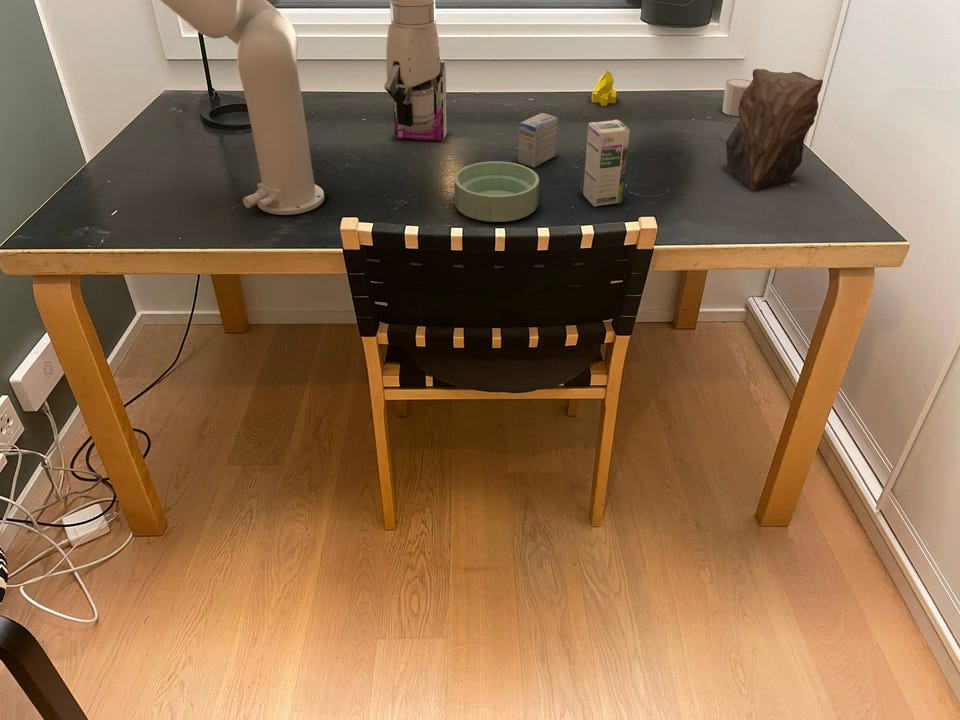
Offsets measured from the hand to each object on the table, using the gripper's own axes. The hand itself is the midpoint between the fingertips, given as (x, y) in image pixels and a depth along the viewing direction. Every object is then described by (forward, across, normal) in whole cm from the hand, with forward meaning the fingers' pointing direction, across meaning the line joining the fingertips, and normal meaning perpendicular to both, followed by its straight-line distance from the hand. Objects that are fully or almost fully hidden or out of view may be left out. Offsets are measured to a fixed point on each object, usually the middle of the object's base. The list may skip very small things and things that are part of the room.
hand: (417, 118), depth 137 cm
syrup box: (+15, -18, +30) cm, 38 cm away
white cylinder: (+14, -80, +35) cm, 88 cm away
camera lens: (+2, 0, 0) cm, 2 cm away
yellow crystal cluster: (+15, -69, +5) cm, 71 cm away
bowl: (+15, -4, +15) cm, 21 cm away
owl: (+14, -44, +52) cm, 70 cm away
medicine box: (+15, -27, +10) cm, 32 cm away
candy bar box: (+15, -23, -18) cm, 33 cm away
